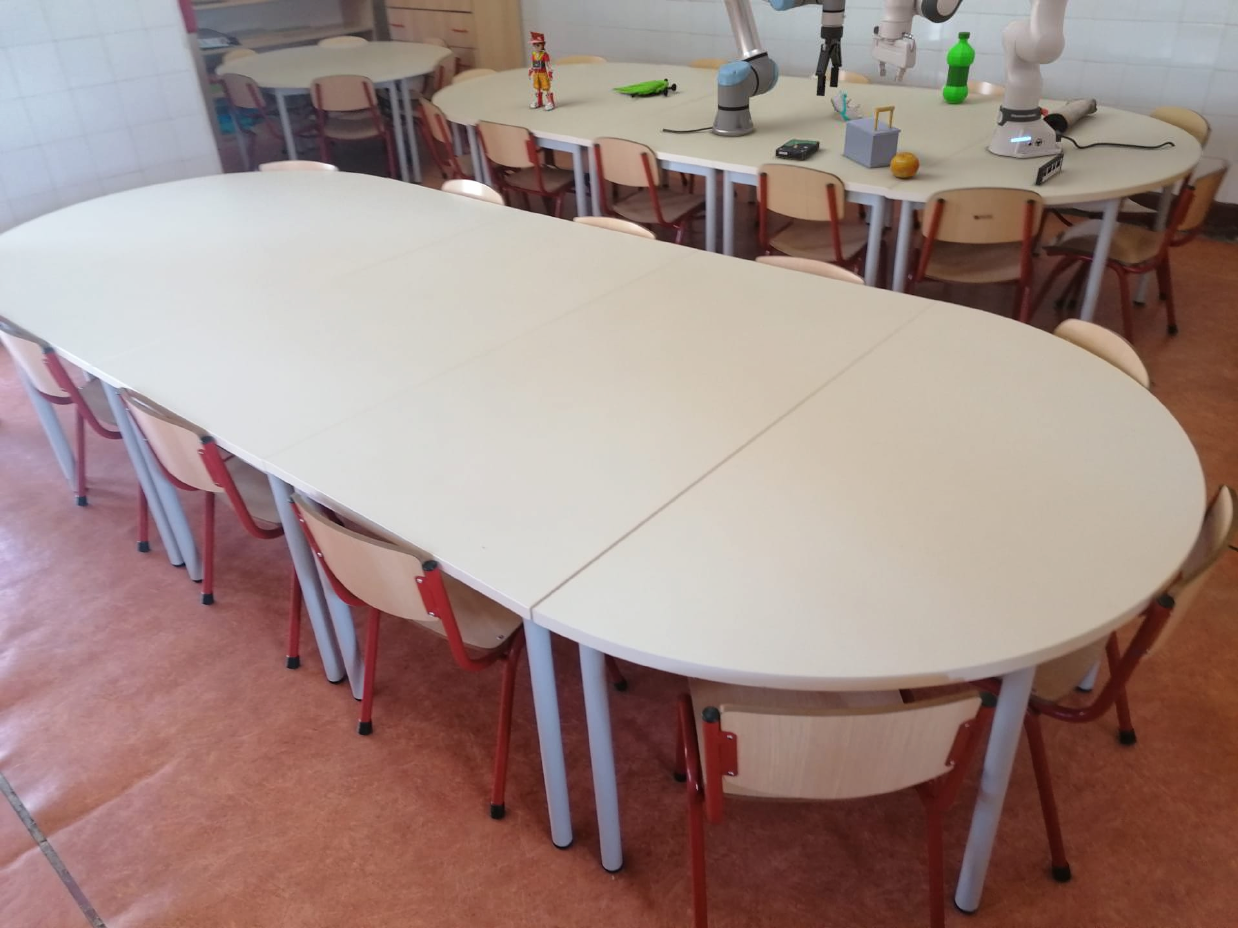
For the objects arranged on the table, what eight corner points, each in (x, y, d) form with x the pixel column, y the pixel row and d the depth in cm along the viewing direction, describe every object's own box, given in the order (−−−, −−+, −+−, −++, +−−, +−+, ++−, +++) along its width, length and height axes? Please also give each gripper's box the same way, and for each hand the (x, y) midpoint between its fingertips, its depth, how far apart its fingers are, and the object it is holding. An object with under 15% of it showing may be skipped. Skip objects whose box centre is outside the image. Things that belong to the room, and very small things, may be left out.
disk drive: (803, 161, 302) (819, 149, 312) (803, 153, 300) (820, 140, 310) (774, 158, 306) (791, 146, 316) (775, 149, 305) (792, 137, 315)
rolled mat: (1064, 103, 333) (1089, 85, 324) (1077, 124, 333) (1102, 107, 325) (1032, 125, 315) (1057, 107, 307) (1046, 147, 316) (1072, 129, 307)
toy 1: (525, 109, 381) (517, 32, 364) (534, 104, 388) (527, 28, 371) (550, 110, 377) (543, 32, 360) (559, 105, 384) (553, 28, 367)
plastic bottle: (973, 101, 354) (984, 32, 339) (955, 106, 349) (966, 36, 335) (952, 97, 361) (962, 29, 346) (934, 102, 356) (944, 33, 342)
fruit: (884, 168, 279) (900, 145, 276) (886, 170, 287) (902, 148, 284) (906, 183, 278) (923, 160, 275) (908, 185, 286) (924, 162, 283)
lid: (900, 132, 287) (903, 107, 283) (874, 136, 285) (877, 111, 281) (871, 120, 301) (873, 96, 297) (846, 123, 299) (848, 99, 295)
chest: (895, 164, 294) (899, 132, 288) (869, 168, 292) (873, 135, 286) (867, 151, 307) (871, 120, 302) (843, 155, 305) (846, 123, 299)
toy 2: (686, 85, 398) (631, 84, 414) (685, 72, 395) (629, 72, 411) (651, 104, 381) (596, 103, 397) (650, 92, 378) (594, 91, 394)
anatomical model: (825, 90, 346) (851, 83, 346) (828, 117, 352) (853, 110, 352) (836, 99, 334) (863, 92, 333) (839, 127, 340) (865, 120, 339)
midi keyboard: (1039, 185, 269) (1043, 168, 266) (1035, 184, 270) (1038, 168, 267) (1060, 170, 279) (1064, 154, 277) (1056, 169, 280) (1060, 153, 277)
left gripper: (830, 32, 294) (825, 100, 306) (854, 19, 311) (848, 84, 323) (808, 31, 297) (804, 98, 309) (833, 18, 314) (828, 83, 326)
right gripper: (924, 35, 265) (917, 84, 273) (887, 25, 281) (882, 72, 289) (905, 37, 263) (899, 86, 271) (869, 26, 280) (864, 74, 287)
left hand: (827, 91), depth 316 cm, fingers open, 13 cm apart
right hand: (890, 79), depth 280 cm, fingers open, 8 cm apart
